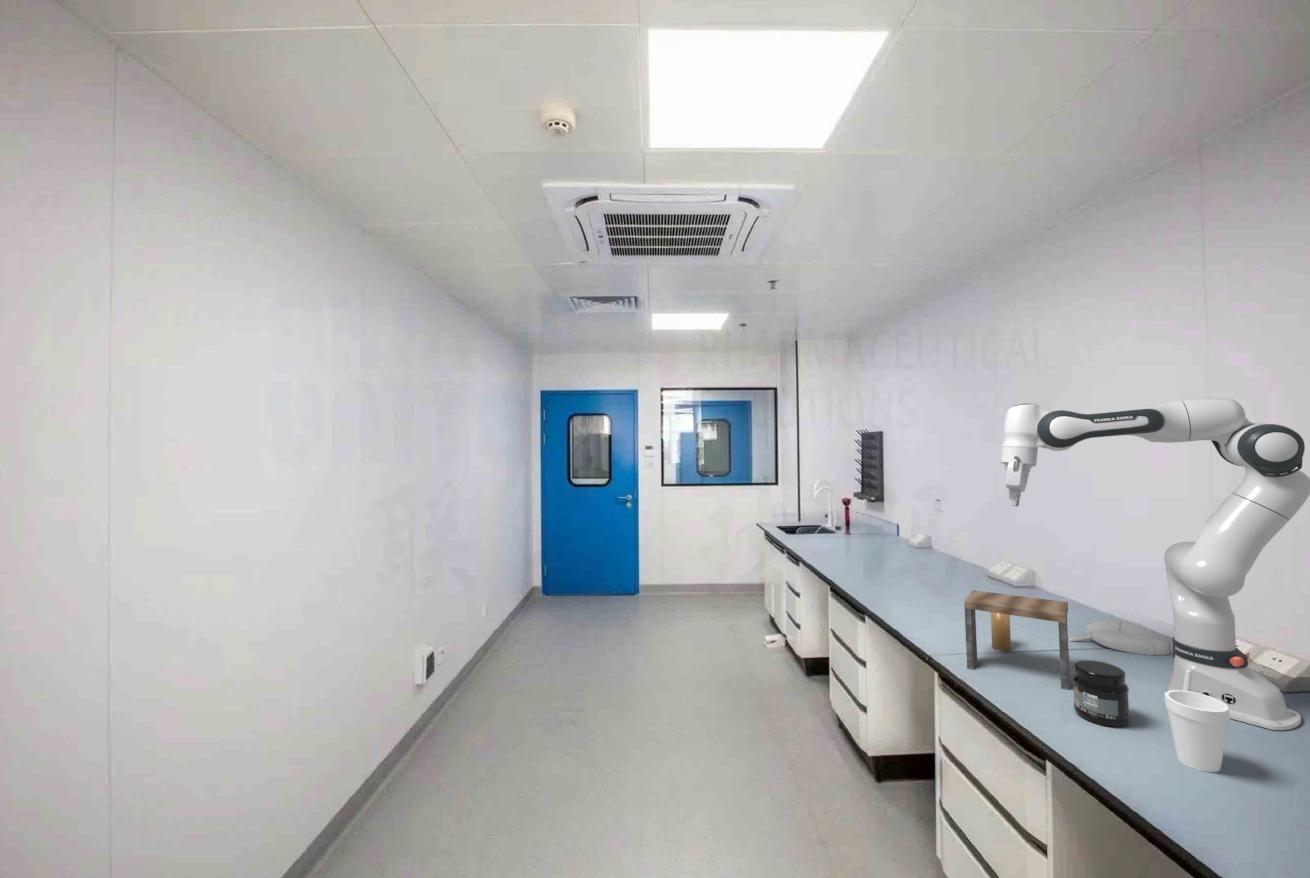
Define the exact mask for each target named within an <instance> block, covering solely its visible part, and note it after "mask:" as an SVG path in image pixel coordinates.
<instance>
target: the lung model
mask: <svg viewBox="0 0 1310 878" xmlns="http://www.w3.org/2000/svg"><path fill="white" fill-rule="evenodd" d="M1084 632H1085V634H1084V635H1079V636H1078V635H1077V636H1073V637H1072V636H1071V637H1068V640H1069V641H1068V643H1074V642H1079V641H1087V640H1088V641H1089V640H1091V641H1094V642H1096V643H1098V644H1099V645H1101V646H1103V647H1105V648H1109V649H1112V650H1116V651H1119V652H1123V651H1124V653H1127V652H1131V653H1130V654H1135V653H1140V654H1139V655H1143V654H1147V655H1146V656H1167V655H1170V654H1171V652H1170V646H1169V644H1167V642H1165V640H1163V639H1162V638H1160V637H1158V636H1157V635H1156V634H1154V633H1153V632H1152V631H1151V630H1150V629H1149V628H1147V627H1146V626H1144V625H1143V624H1141V623H1137V622H1130V621H1123V620H1119V619H1114V620H1113V619H1112V620H1111V619H1110V620H1099V621H1094V622H1091V623H1090V622H1089V623H1088V624H1087V625H1085V629H1084Z"/></svg>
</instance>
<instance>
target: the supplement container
mask: <svg viewBox="0 0 1310 878" xmlns="http://www.w3.org/2000/svg"><path fill="white" fill-rule="evenodd" d="M1074 672H1075V673H1074V674H1073V675H1072V682H1073V703H1074V704H1073V708H1074V710H1075V712H1076V714H1077V715H1079V716H1080V717H1081V718H1082V719H1085V720H1087V721H1088V722H1091V723H1095V724H1097V725H1101V726H1107V727H1123V726H1126V725H1127V724H1129V723H1130V720H1131V719H1130V706H1129V702H1130V701H1129V691H1130V689H1129V686H1128V684H1127V683H1126V672H1125V671H1124V670H1123V669H1121V668H1120V667H1119V666H1116V665H1114V664H1111V663H1107V662H1102V661H1098V660H1090V659H1089V660H1088V659H1087V660H1086V659H1085V660H1077V661H1076V662H1074Z"/></svg>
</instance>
